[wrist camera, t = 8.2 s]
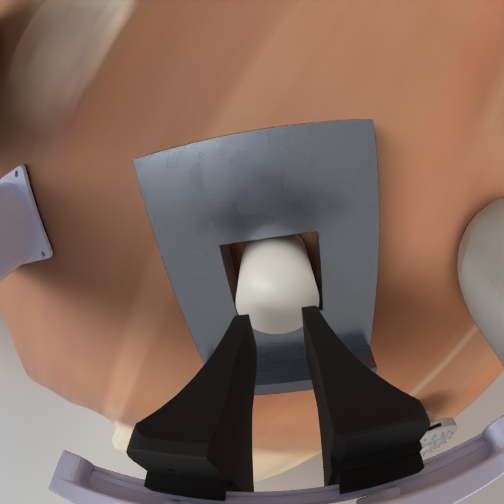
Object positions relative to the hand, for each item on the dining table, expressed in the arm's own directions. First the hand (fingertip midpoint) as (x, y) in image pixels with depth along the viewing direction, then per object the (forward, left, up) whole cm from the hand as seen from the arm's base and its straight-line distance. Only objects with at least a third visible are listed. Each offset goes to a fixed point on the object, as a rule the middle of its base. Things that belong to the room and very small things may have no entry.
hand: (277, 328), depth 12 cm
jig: (0, 0, -6) cm, 6 cm away
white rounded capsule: (0, 0, -6) cm, 6 cm away
